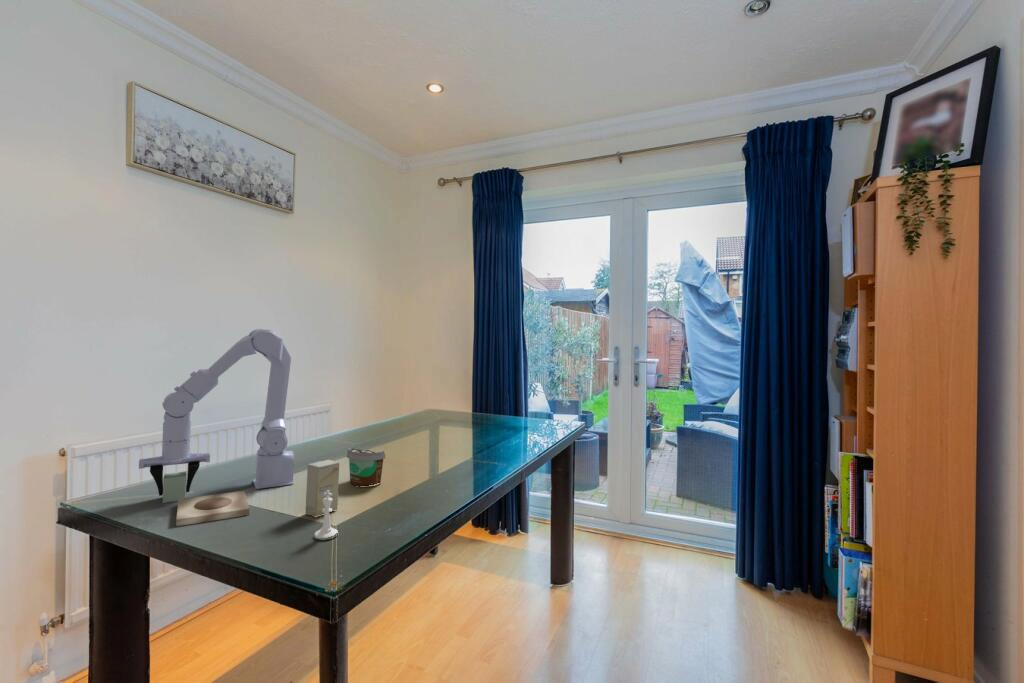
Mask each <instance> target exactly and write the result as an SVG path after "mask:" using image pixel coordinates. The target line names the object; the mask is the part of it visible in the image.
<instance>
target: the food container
mask: <svg viewBox="0 0 1024 683" xmlns="http://www.w3.org/2000/svg"><path fill="white" fill-rule="evenodd" d="M346 453H347V454H346V458H347V459H348V464H349V466H348V468H349V483H350V485H351V486H352V485H353V487H355V486H358V487H357V488H361V487H360V486H369V485H374V484H377V483H380V484H381V481H382V474H383V467H384V466H383V465H384V460H385V459H386V453H385V450H383V451H379V452H378V451H377V452H374V451H372V450H369V449H364V450H363V449H362V450H361V449H355V446H354V445H353V446H350V447H348V450H347V452H346Z"/></svg>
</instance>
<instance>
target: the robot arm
mask: <svg viewBox="0 0 1024 683" xmlns="http://www.w3.org/2000/svg"><path fill="white" fill-rule="evenodd" d="M257 352H258V353H260V354H261V355H263V356H264V358H265V359H266V360H267V361H269V363H270V370H269V379H268V387H267V395H266V396H267V397H266V404H265V411H264V418H263V420H262V421H261V422H262V423H261V427H260V430H258V432H257V434H256V439H255V440H256V442H257V444H258V445H259V448H258V450H257V451H256V471H255V473H256V474H255V475H256V476H255V478H254V479H253V480H252V482H253V486H254V488H255V490H259V489H267V488H275V487H281V486H282V487H283V486H291V485H293V484H294V466H295V465H294V464H295V458H294V457H295V455H294V451H293V450H286V448H287V447H288V441H289V440H288V437H287V435H286V430H287V428H286V422H285V415H286V414H285V413H286V405H287V404H286V403H287V398H288V387H289V379H290V371H291V364H292V362H291V361H292V357H291V355H290V353H289V351H288V349H287V347H286V346H285V344H284V339H283V338H282V337H281V336H280V335H278V333H276V332H275V331H273V330H271V329H264V328H262V329H261V328H256V329H254V330H252V331H250V332H249V334H247V335H245V336H244V337H242V338H241V339H239V340H238V341H237V342H236V343H235V344H234V345H233V346H231V347H230V348H229V349H228V350H227V351H226V352H225V353H223V355H222V356H220V357H219V358H218V359H217V360H216V361H215V362H214V363H213V364H212V365H211V366H210V367H209V368H205V369H202V368H201V369H198V370H197V371H192V372H191V373H190V374H189V376H190V377H189V378H187V379H186V381H184V382H183V383H182V384H181V385H180V386H176V387H174V389H173V390H174V392H171V393H168V395H166V396H165V397H164V399H163V402H162V403H161V404H162V407H163V410H165V412H164V414H163V422H162V445H161V446H162V447H161V456H154V457H147V458H140V459H139V461H138V469H139V470H141V469H145V468H149V472H150V475H151V476H152V478H153V480H154V482H155V484H156V487H157V490H158V491H157V492H158V496H162V497H163V481H164V466H175V465H184V464H185V465H186V464H187V477H186V491H185V493H190V489H191V485H192V482H193V481H194V478H195V475H196V474H197V472H198V470H199V468H200V463H210V462H211V453H210V452H206V453H202V452H201V453H191V452H190V451H191V431H192V430H191V427H192V421H191V412H192V411H193V409H194V405H195V403H199V401H201V400H202V399H203V398H204V397H205V396H207V394H210V392H211V391H212V390H214V388H215V387H216V386H218V384H219V377H220V376H221V375H223V374H224V373H225V372H226V371H228V370H229V369H230V368H231V367H232V366H234V365H235V364H236V363H237V362H238V361H240V360H241V359H242V358H244V357H248V356H252V355H255V354H256V355H257Z"/></svg>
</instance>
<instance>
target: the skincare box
mask: <svg viewBox="0 0 1024 683" xmlns="http://www.w3.org/2000/svg"><path fill="white" fill-rule="evenodd" d="M306 473H307V474H306V492H305V494H306V496H305V514H306V515H308V516H310V515H312V516H311V517H313V516H318V515H322V514H325V513H323V512H322V510H323V509H324V508H325V507H324V503H323V499H324V498H326V495H324V493H327V490H330V492H329V493H332V496H329V498H332V499H333V500H332V503H331V506H330V508H332V511H334V510H337V511H338V504H339V503H338V501H339V500H338V499H339V477H340V462H339V461H336V460H332V459H325V460H319V461H316V462H312V463H307V471H306Z"/></svg>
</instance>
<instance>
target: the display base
mask: <svg viewBox="0 0 1024 683" xmlns="http://www.w3.org/2000/svg"><path fill="white" fill-rule="evenodd" d="M244 515H245V516H249V515H250V506H249V502H248V498H247V494H246V492H245V490H237V491H231V492H224V493H223V492H222V493H216V494H209V495H202V496H201V495H200V496H194V497H192V496H191V497H185V499H179V500H178V501H177V512H176V522H175V524H176V526H175V527H181V526H186V525H193V524H200V523H206V522H207V523H208V522H213V521H218V520H220V521H221V520H224V519H232V518H237V517H244Z"/></svg>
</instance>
